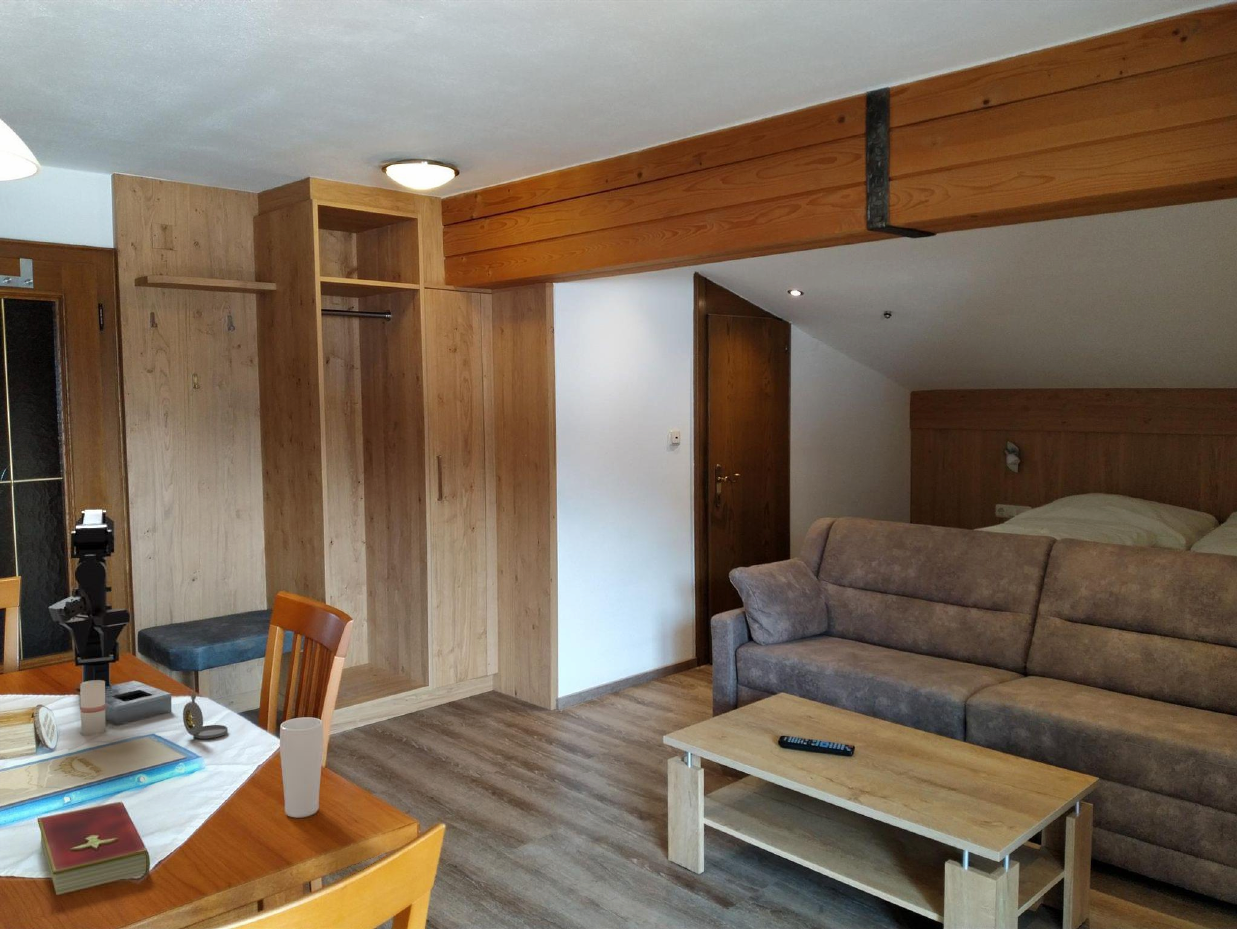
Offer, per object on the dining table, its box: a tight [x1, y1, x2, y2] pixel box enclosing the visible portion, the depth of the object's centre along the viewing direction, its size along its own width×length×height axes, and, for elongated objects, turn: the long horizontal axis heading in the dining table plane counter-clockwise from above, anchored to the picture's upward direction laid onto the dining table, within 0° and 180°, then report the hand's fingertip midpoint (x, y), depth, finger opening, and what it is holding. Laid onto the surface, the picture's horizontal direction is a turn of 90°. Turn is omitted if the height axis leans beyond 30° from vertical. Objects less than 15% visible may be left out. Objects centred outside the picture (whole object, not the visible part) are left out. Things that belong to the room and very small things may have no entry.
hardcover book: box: [37, 800, 151, 896], centre depth 143 cm, size 12×21×4 cm, turn 36°
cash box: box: [79, 680, 172, 726], centre depth 211 cm, size 16×12×4 cm
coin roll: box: [79, 680, 107, 736], centre depth 198 cm, size 4×4×10 cm
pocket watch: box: [182, 690, 229, 740], centre depth 196 cm, size 8×8×10 cm
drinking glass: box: [279, 716, 324, 819], centre depth 159 cm, size 7×7×15 cm
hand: (93, 654), depth 210 cm, fingers open, 9 cm apart
